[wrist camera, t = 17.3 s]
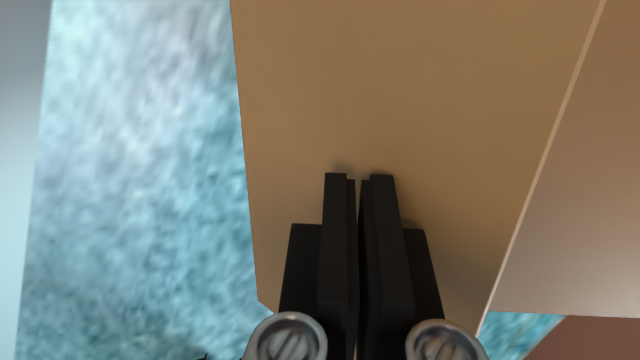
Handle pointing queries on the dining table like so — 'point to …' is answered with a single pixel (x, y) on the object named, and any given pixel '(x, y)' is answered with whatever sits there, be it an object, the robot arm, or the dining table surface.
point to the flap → (406, 121)
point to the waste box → (587, 191)
